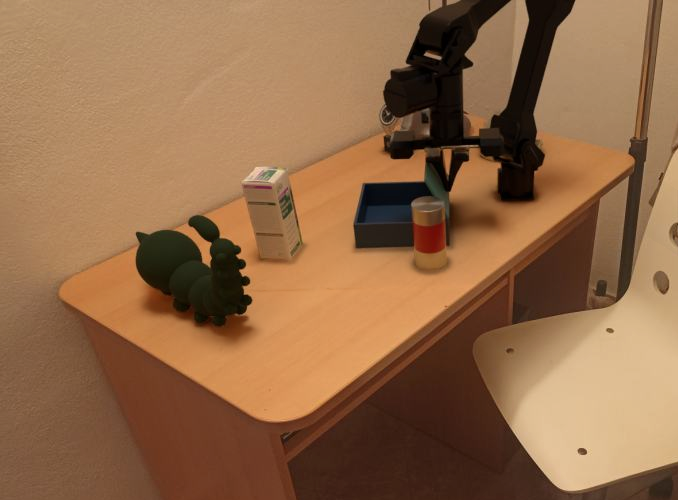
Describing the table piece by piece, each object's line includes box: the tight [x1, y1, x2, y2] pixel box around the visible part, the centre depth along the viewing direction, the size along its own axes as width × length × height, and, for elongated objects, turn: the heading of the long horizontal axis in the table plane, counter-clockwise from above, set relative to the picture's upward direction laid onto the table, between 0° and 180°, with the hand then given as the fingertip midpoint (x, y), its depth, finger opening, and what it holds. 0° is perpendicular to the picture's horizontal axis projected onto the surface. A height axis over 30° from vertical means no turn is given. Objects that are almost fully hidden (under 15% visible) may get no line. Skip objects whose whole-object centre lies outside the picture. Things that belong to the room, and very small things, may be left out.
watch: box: [378, 103, 414, 152], centre depth 146 cm, size 6×8×11 cm
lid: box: [423, 162, 450, 219], centre depth 117 cm, size 8×16×1 cm
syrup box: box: [240, 166, 304, 261], centre depth 112 cm, size 6×6×14 cm
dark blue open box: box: [352, 180, 450, 249], centre depth 121 cm, size 16×16×5 cm
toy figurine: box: [135, 214, 253, 328], centre depth 99 cm, size 9×19×25 cm
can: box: [411, 196, 448, 271], centre depth 109 cm, size 5×5×11 cm
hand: (448, 190), depth 118 cm, fingers closed
